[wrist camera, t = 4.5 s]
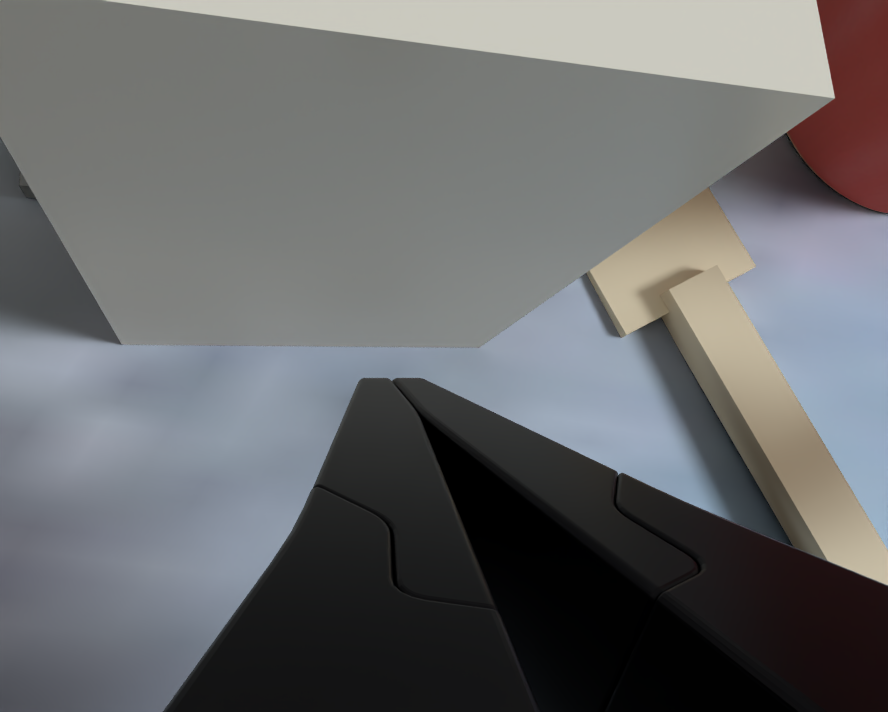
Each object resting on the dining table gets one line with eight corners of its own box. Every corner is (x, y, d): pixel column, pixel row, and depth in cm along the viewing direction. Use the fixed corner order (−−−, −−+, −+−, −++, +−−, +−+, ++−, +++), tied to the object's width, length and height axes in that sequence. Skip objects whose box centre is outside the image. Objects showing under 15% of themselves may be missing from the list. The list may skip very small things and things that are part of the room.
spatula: (975, 655, 19) (1011, 662, 18) (853, 752, 18) (884, 765, 17) (637, 92, 21) (653, 72, 20) (508, 147, 20) (518, 127, 19)
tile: (478, 347, 18) (835, 97, 7) (121, 345, 15) (-97, -26, 5) (472, 249, 18) (795, -115, 8) (126, 231, 16) (-62, -315, 6)
